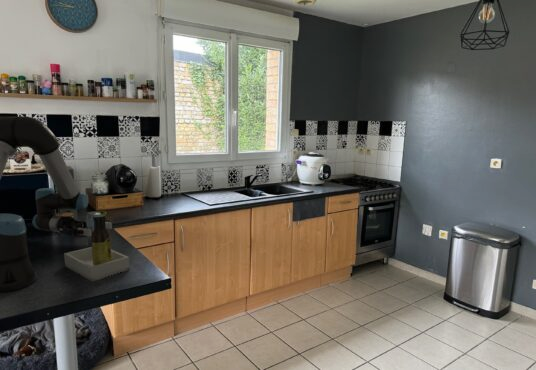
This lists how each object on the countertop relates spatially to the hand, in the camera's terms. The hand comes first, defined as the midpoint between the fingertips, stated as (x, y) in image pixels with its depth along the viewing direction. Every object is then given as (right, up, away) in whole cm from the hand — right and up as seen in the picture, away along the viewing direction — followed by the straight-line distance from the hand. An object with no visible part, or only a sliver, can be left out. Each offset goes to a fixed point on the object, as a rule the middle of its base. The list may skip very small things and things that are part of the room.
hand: (101, 229), depth 163 cm
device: (-38, -2, +44) cm, 58 cm away
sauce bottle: (+12, -12, -25) cm, 30 cm away
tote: (+8, -12, -22) cm, 26 cm away
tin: (-4, -8, +3) cm, 9 cm away
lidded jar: (-33, -4, +30) cm, 45 cm away
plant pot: (-15, -4, +30) cm, 34 cm away
